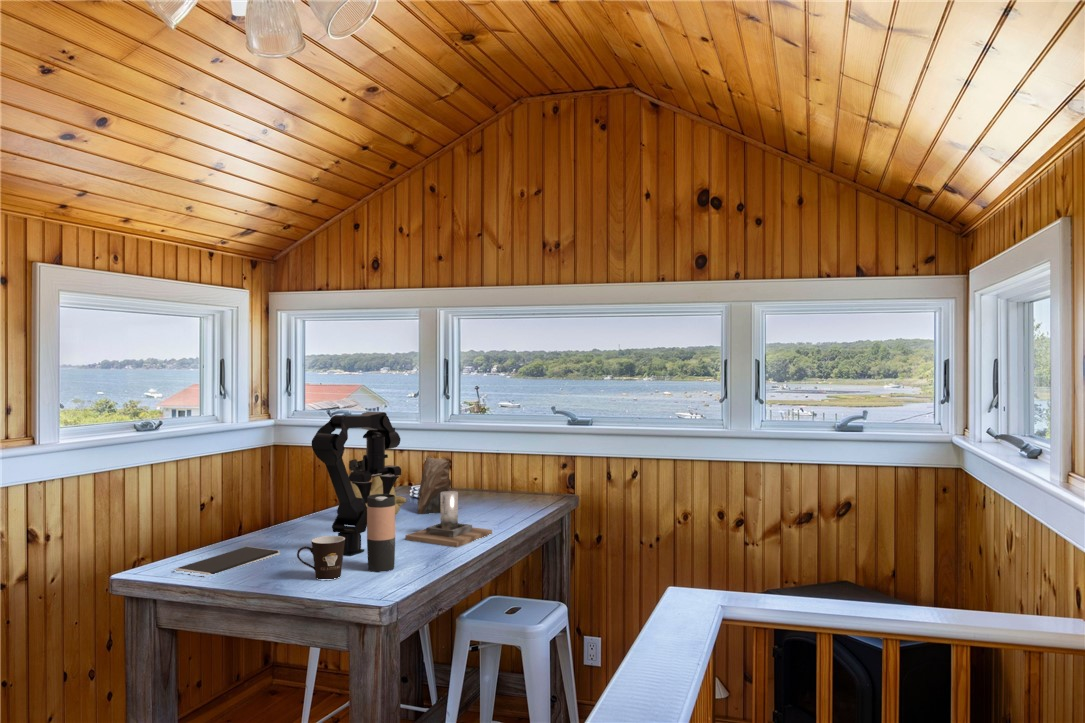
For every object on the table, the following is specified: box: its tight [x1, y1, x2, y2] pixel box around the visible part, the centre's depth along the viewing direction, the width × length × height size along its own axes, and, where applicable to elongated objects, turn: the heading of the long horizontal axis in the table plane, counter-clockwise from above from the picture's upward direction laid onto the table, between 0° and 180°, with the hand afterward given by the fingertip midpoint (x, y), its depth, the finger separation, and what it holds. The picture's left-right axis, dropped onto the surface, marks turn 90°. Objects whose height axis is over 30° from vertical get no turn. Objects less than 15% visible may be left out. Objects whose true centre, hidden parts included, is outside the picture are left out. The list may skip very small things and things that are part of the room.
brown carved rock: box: [417, 456, 452, 515], centre depth 292 cm, size 13×13×20 cm
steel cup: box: [440, 490, 459, 530], centre depth 249 cm, size 6×6×13 cm
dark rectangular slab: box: [173, 546, 281, 575], centre depth 218 cm, size 13×27×2 cm, turn 157°
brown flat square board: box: [404, 522, 493, 548], centre depth 249 cm, size 20×20×4 cm
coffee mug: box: [296, 535, 345, 579], centre depth 203 cm, size 12×9×10 cm
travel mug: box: [366, 494, 396, 573], centre depth 212 cm, size 8×8×20 cm
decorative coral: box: [347, 469, 407, 516], centre depth 274 cm, size 26×22×25 cm
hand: (375, 500), depth 242 cm, fingers open, 9 cm apart
